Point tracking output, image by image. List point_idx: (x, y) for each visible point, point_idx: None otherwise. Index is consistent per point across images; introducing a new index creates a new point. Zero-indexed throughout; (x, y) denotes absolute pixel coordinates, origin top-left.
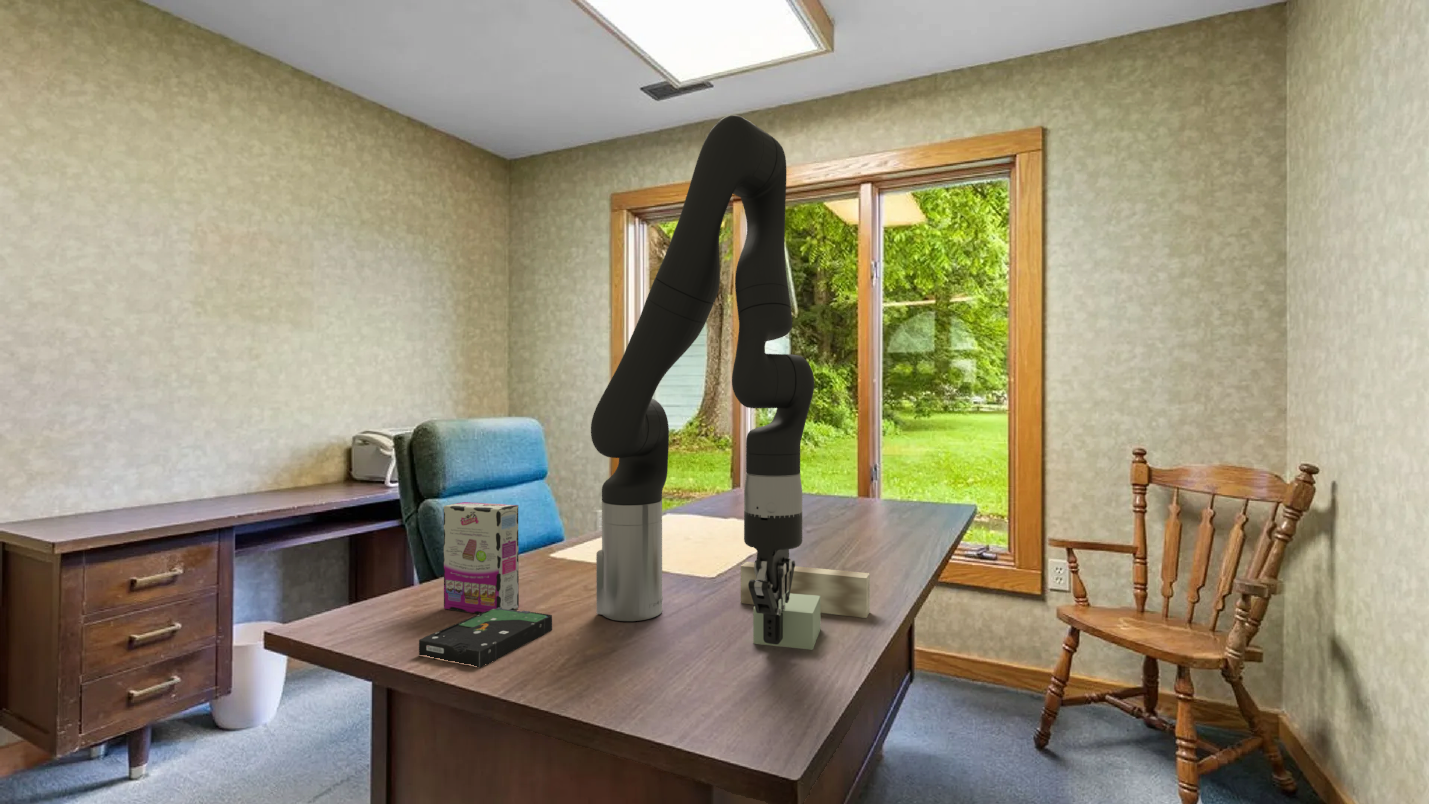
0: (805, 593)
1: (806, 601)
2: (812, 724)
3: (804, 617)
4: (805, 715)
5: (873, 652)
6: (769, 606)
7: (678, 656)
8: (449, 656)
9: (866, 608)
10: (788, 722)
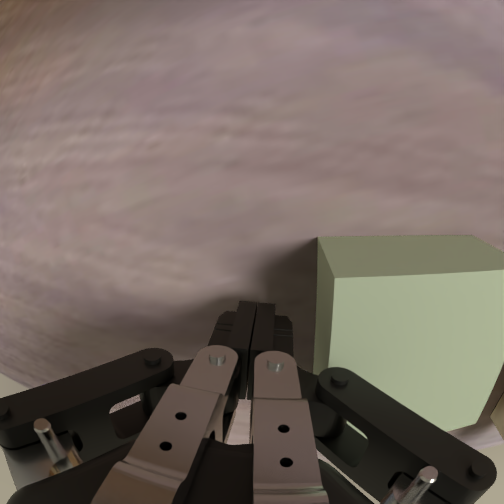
0: None
1: (431, 414)
2: (38, 381)
3: None
4: (48, 375)
5: (322, 459)
6: (110, 414)
7: (150, 65)
8: None
9: (497, 428)
10: (25, 355)
